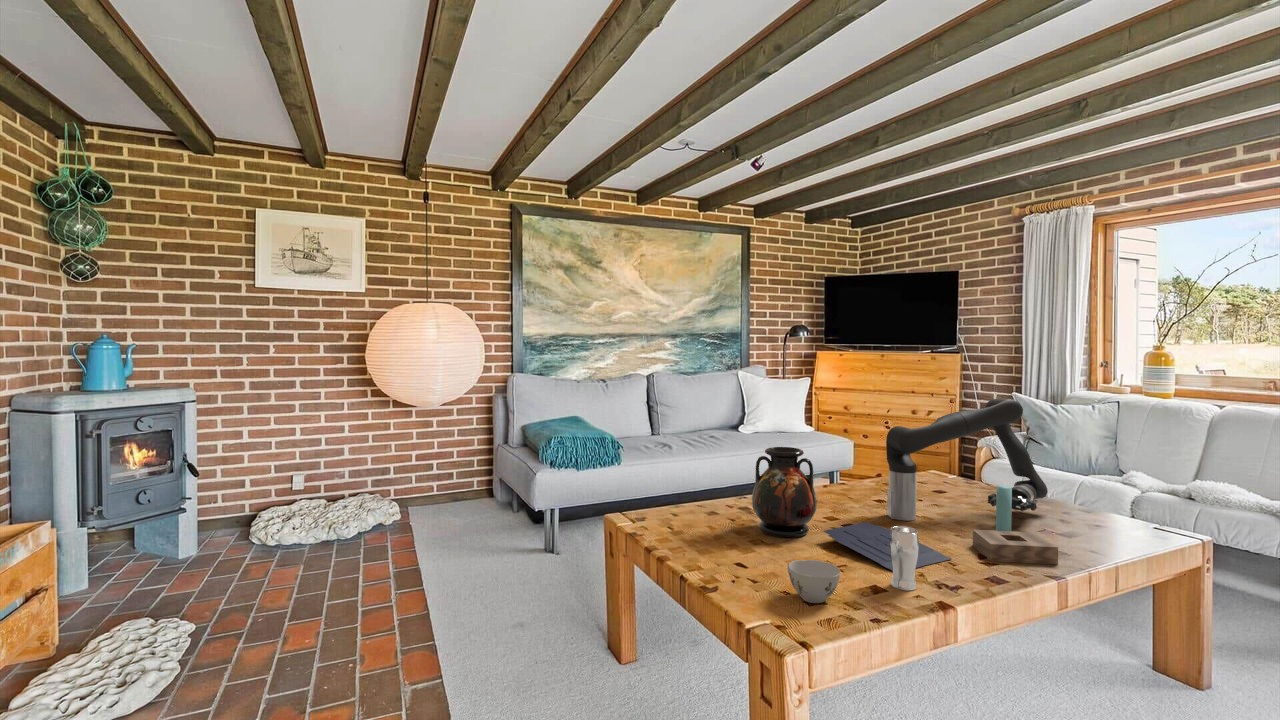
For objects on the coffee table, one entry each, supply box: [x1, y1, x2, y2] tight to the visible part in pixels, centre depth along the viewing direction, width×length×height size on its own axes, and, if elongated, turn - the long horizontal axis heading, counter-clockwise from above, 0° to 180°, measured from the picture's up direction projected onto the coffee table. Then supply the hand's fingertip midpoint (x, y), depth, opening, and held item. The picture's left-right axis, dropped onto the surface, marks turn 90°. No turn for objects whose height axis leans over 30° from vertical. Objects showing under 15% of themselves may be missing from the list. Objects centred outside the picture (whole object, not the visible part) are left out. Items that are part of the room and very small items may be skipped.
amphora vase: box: [751, 446, 818, 539], centre depth 206 cm, size 22×22×28 cm
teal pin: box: [995, 485, 1013, 531], centre depth 202 cm, size 4×4×16 cm
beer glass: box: [890, 525, 920, 592], centre depth 159 cm, size 7×7×15 cm
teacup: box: [787, 559, 841, 604], centre depth 153 cm, size 15×12×8 cm
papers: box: [823, 521, 952, 572], centre depth 186 cm, size 24×30×4 cm
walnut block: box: [972, 529, 1059, 565], centre depth 183 cm, size 18×14×5 cm
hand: (1007, 505), depth 205 cm, fingers open, 8 cm apart
